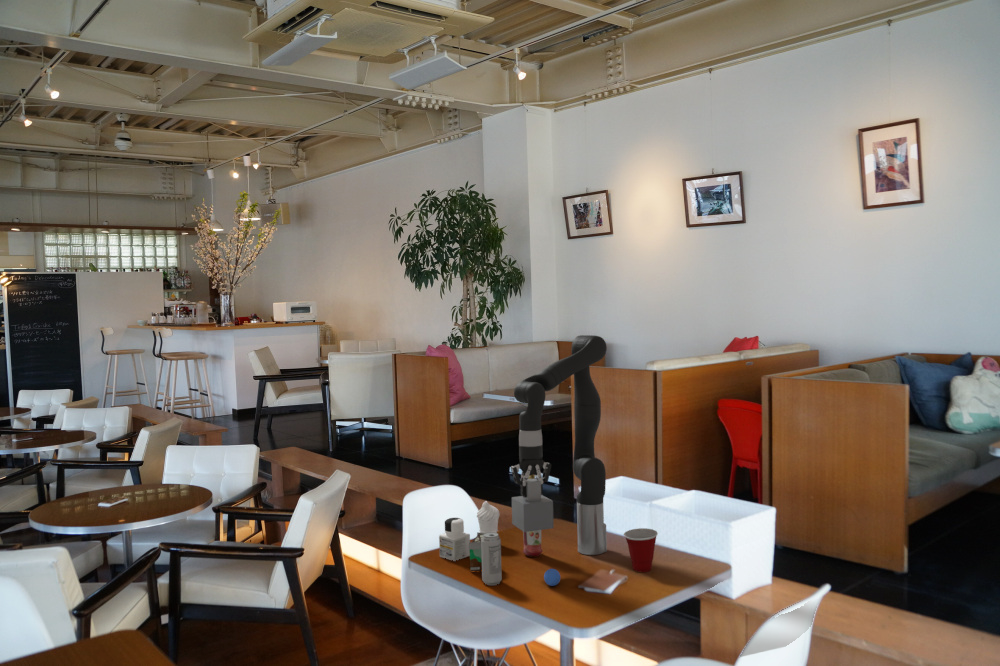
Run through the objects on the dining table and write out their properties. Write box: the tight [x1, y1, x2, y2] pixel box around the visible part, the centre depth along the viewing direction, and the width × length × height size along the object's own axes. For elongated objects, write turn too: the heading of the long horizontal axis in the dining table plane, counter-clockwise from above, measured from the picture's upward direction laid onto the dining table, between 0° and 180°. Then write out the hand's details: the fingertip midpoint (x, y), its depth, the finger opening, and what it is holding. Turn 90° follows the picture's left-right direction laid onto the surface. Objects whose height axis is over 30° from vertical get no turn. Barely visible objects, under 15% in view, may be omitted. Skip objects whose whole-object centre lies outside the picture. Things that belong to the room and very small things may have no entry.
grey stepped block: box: [511, 478, 554, 533], centre depth 237 cm, size 10×10×15 cm
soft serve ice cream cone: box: [476, 500, 500, 533], centre depth 265 cm, size 8×8×16 cm
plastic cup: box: [623, 527, 659, 573], centre depth 235 cm, size 11×11×12 cm
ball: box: [543, 568, 561, 587], centre depth 223 cm, size 5×5×5 cm
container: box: [438, 517, 471, 562], centre depth 253 cm, size 8×8×13 cm
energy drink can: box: [481, 532, 503, 586], centre depth 227 cm, size 6×6×15 cm
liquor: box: [522, 475, 543, 557], centre depth 252 cm, size 7×7×28 cm
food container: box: [469, 531, 485, 572], centre depth 241 cm, size 12×6×10 cm, turn 168°
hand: (531, 495), depth 237 cm, fingers closed on grey stepped block, 4 cm apart
